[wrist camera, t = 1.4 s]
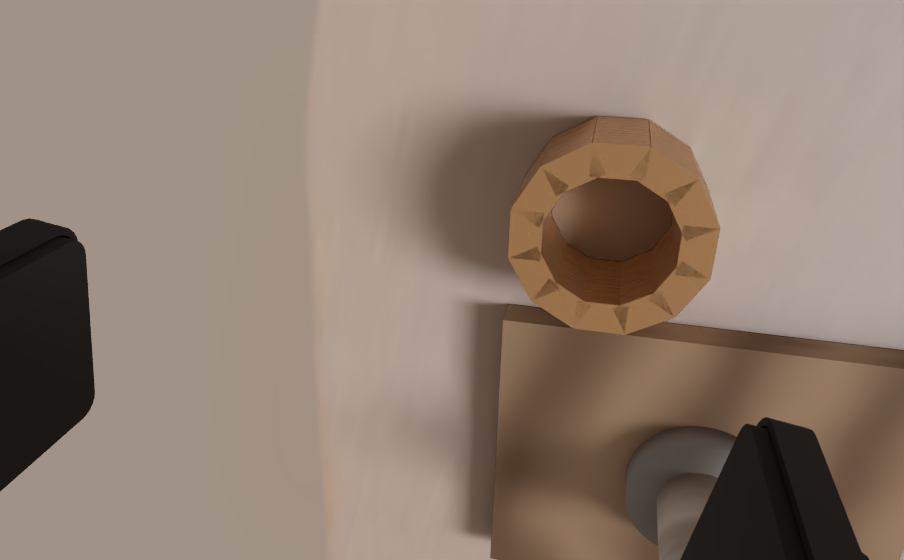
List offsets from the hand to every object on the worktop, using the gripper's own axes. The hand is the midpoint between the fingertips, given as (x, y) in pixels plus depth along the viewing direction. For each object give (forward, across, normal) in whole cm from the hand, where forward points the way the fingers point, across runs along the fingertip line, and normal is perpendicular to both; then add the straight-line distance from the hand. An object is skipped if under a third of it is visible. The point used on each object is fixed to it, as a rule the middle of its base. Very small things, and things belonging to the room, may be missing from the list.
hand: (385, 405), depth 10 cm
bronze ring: (+20, -4, +3) cm, 21 cm away
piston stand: (+20, -11, +14) cm, 27 cm away
